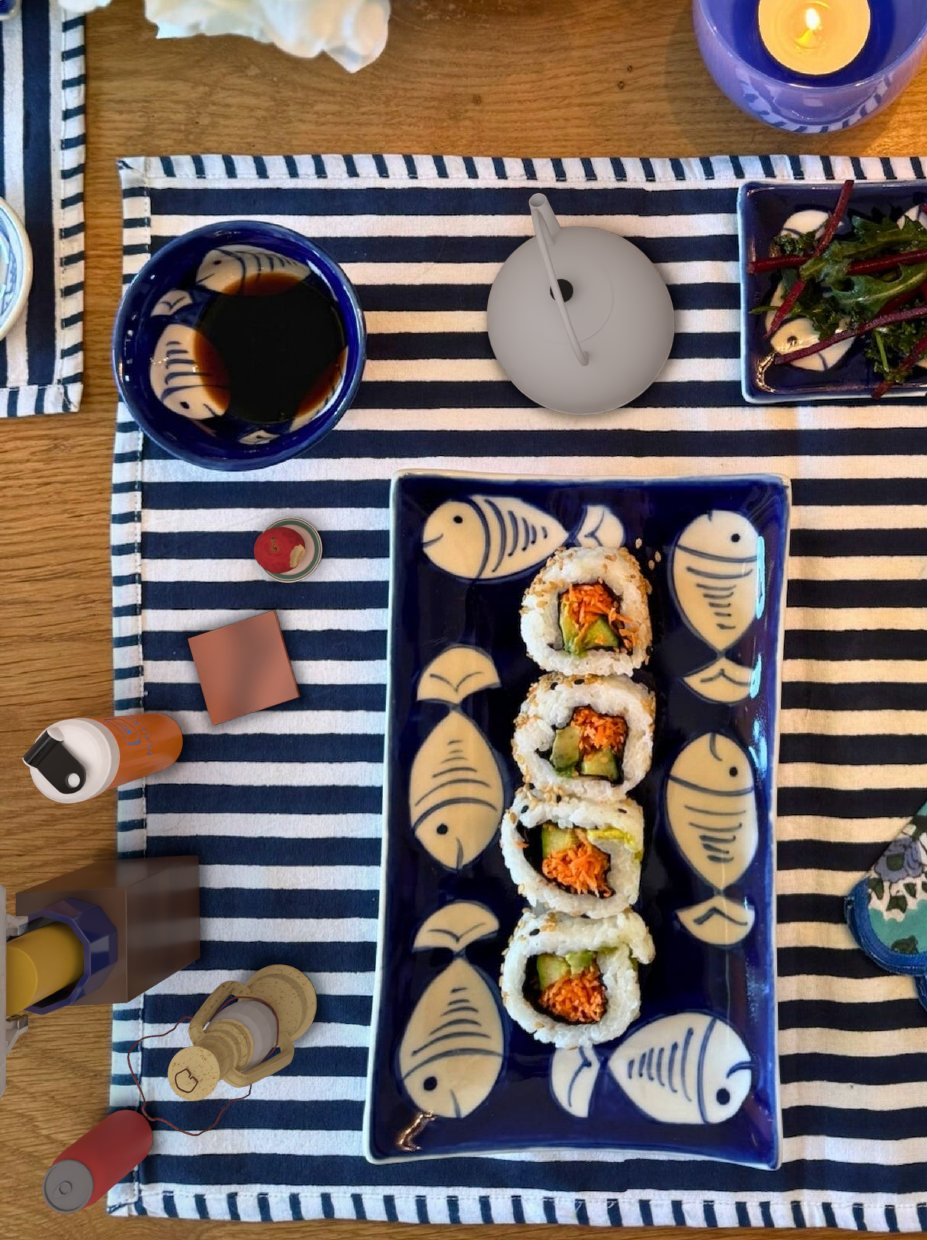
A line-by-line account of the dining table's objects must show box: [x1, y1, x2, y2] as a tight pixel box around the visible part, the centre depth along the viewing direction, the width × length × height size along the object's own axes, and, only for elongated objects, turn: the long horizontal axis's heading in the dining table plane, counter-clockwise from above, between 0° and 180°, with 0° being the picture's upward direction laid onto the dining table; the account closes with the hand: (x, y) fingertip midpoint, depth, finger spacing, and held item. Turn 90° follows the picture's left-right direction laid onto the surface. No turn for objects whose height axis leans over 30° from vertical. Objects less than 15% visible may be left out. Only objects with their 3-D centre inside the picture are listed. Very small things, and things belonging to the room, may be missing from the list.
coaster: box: [187, 610, 301, 726], centre depth 142 cm, size 11×11×1 cm
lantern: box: [126, 963, 318, 1137], centre depth 123 cm, size 12×10×30 cm
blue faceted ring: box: [6, 898, 117, 1016], centre depth 121 cm, size 10×10×5 cm
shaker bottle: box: [21, 712, 184, 804], centre depth 131 cm, size 9×9×20 cm
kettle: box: [486, 192, 676, 416], centre depth 134 cm, size 25×23×22 cm
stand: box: [14, 854, 201, 1007], centre depth 131 cm, size 12×12×16 cm
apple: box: [253, 516, 323, 583], centre depth 140 cm, size 8×8×6 cm
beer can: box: [41, 1109, 153, 1215], centre depth 131 cm, size 7×7×12 cm
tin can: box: [6, 921, 84, 1017], centre depth 118 cm, size 7×7×11 cm
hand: (21, 972), depth 115 cm, fingers open, 8 cm apart
